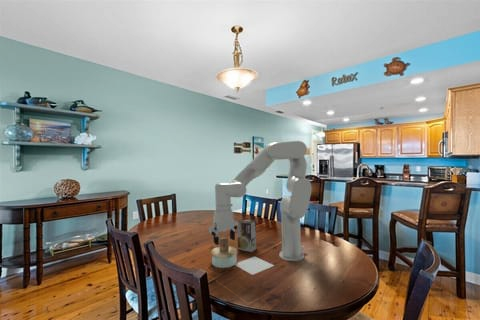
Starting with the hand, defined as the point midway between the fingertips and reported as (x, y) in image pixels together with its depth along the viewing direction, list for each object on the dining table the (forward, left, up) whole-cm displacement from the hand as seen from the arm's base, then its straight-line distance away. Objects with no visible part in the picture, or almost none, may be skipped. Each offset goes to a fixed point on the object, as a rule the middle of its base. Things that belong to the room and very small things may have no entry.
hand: (224, 241), depth 119 cm
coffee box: (-20, -6, -11) cm, 23 cm away
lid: (0, 0, -6) cm, 6 cm away
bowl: (0, 0, -11) cm, 11 cm away
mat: (-9, +12, -11) cm, 18 cm away
